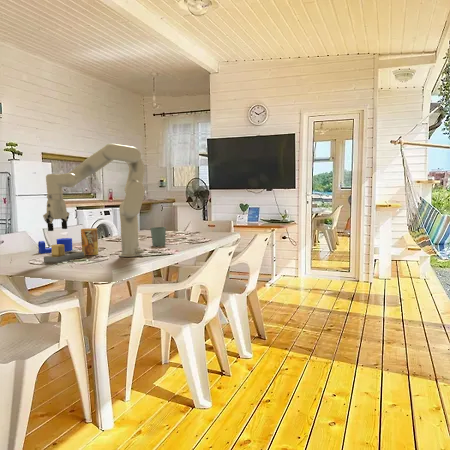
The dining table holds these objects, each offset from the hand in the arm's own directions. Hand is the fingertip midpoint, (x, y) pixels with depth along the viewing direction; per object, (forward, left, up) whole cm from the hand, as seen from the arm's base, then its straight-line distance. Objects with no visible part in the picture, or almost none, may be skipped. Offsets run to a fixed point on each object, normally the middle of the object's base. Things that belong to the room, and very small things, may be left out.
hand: (57, 229), depth 214 cm
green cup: (-20, -68, -17) cm, 73 cm away
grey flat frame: (0, -4, -17) cm, 17 cm away
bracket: (+29, -27, -17) cm, 43 cm away
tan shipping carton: (0, 0, -16) cm, 16 cm away
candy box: (-2, -22, -17) cm, 28 cm away
